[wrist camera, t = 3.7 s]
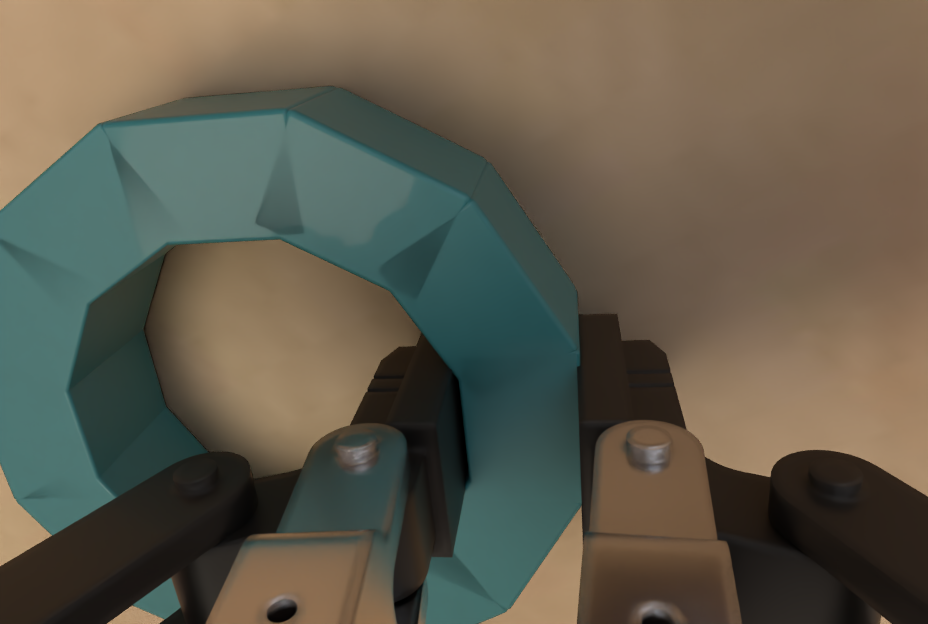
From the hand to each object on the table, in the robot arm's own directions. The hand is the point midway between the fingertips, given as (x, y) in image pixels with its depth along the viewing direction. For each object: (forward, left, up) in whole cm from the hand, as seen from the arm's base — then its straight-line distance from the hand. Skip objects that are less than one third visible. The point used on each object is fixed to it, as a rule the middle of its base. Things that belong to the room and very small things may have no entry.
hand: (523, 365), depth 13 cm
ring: (-4, 0, 0) cm, 4 cm away
